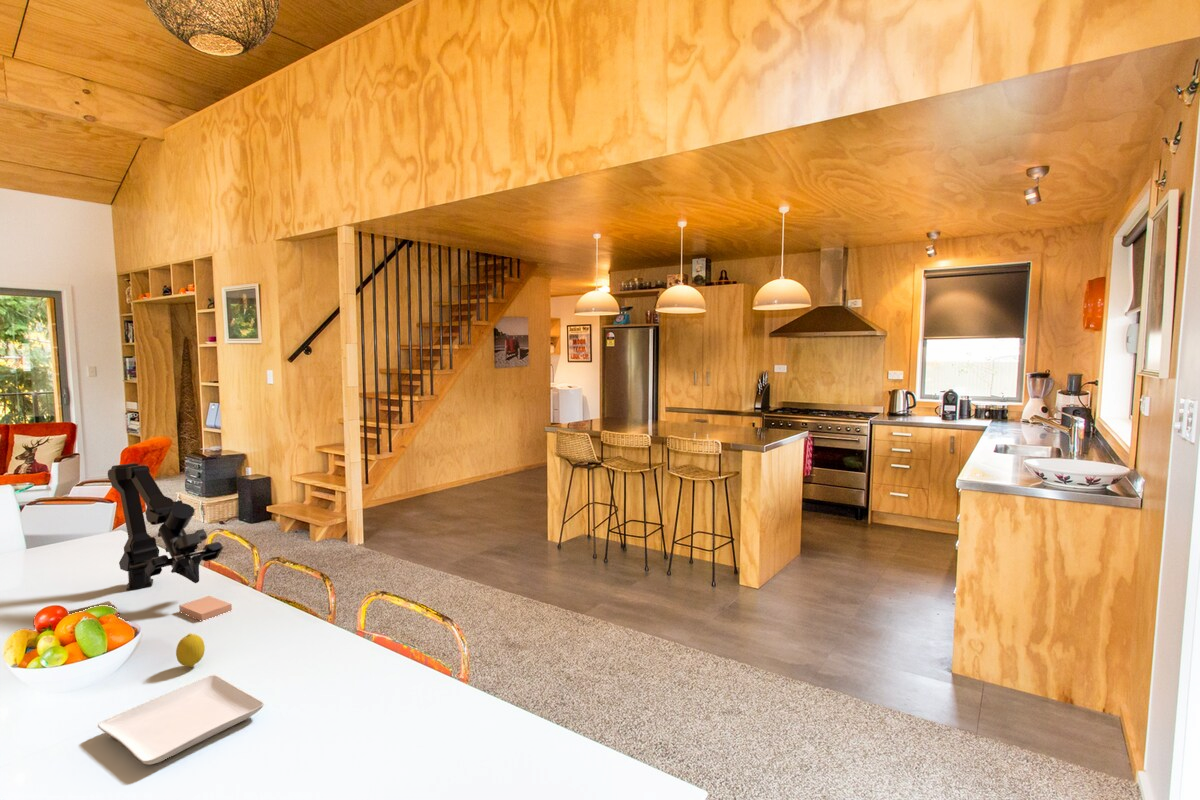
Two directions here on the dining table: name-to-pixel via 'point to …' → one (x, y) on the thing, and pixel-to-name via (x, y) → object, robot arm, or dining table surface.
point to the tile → (205, 608)
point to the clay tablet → (92, 606)
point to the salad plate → (181, 718)
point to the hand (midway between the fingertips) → (197, 582)
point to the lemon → (190, 650)
